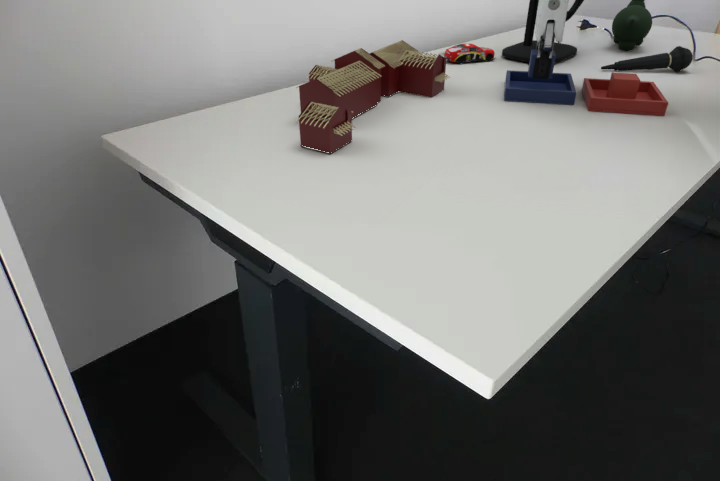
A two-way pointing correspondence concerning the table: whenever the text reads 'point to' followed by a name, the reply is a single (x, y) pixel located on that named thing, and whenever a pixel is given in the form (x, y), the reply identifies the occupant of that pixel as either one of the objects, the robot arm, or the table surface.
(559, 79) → the navy tray
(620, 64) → the microphone
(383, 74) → the toy houses
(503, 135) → the table surface
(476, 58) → the race car
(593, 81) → the red tray
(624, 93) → the red block
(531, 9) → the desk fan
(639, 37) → the toy figurine
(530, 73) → the navy block
